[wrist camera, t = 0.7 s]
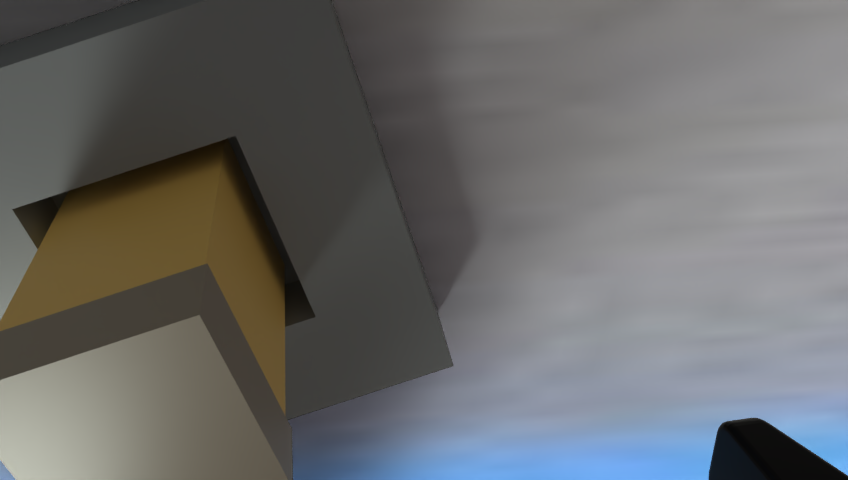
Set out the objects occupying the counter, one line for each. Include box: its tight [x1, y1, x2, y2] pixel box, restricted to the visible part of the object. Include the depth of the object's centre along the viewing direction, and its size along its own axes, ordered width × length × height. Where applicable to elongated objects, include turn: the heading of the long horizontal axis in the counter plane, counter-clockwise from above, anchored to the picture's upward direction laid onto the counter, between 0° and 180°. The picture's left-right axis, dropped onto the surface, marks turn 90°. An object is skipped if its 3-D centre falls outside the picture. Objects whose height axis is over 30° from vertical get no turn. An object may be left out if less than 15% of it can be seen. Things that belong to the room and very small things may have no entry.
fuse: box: [0, 139, 293, 480], centre depth 17 cm, size 4×4×8 cm
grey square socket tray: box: [0, 0, 453, 420], centre depth 20 cm, size 11×11×2 cm
